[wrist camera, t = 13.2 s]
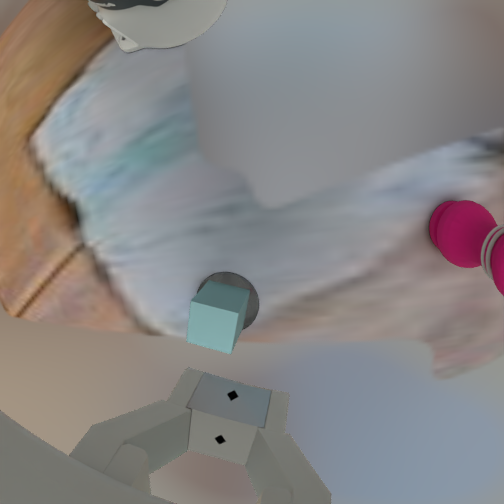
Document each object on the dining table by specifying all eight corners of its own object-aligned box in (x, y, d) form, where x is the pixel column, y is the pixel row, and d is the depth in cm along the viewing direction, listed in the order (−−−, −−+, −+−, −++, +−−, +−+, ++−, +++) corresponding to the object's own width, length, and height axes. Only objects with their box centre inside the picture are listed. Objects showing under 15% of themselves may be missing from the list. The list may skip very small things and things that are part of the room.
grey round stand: (194, 321, 42) (179, 341, 37) (201, 265, 40) (185, 280, 35) (252, 336, 41) (244, 359, 36) (264, 280, 39) (257, 298, 34)
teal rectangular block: (204, 316, 41) (186, 341, 35) (209, 280, 40) (190, 300, 33) (243, 326, 41) (231, 354, 34) (250, 289, 39) (238, 313, 33)
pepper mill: (422, 255, 35) (506, 334, 16) (426, 194, 33) (527, 227, 14) (471, 255, 34) (567, 325, 14) (476, 198, 32) (587, 231, 13)
